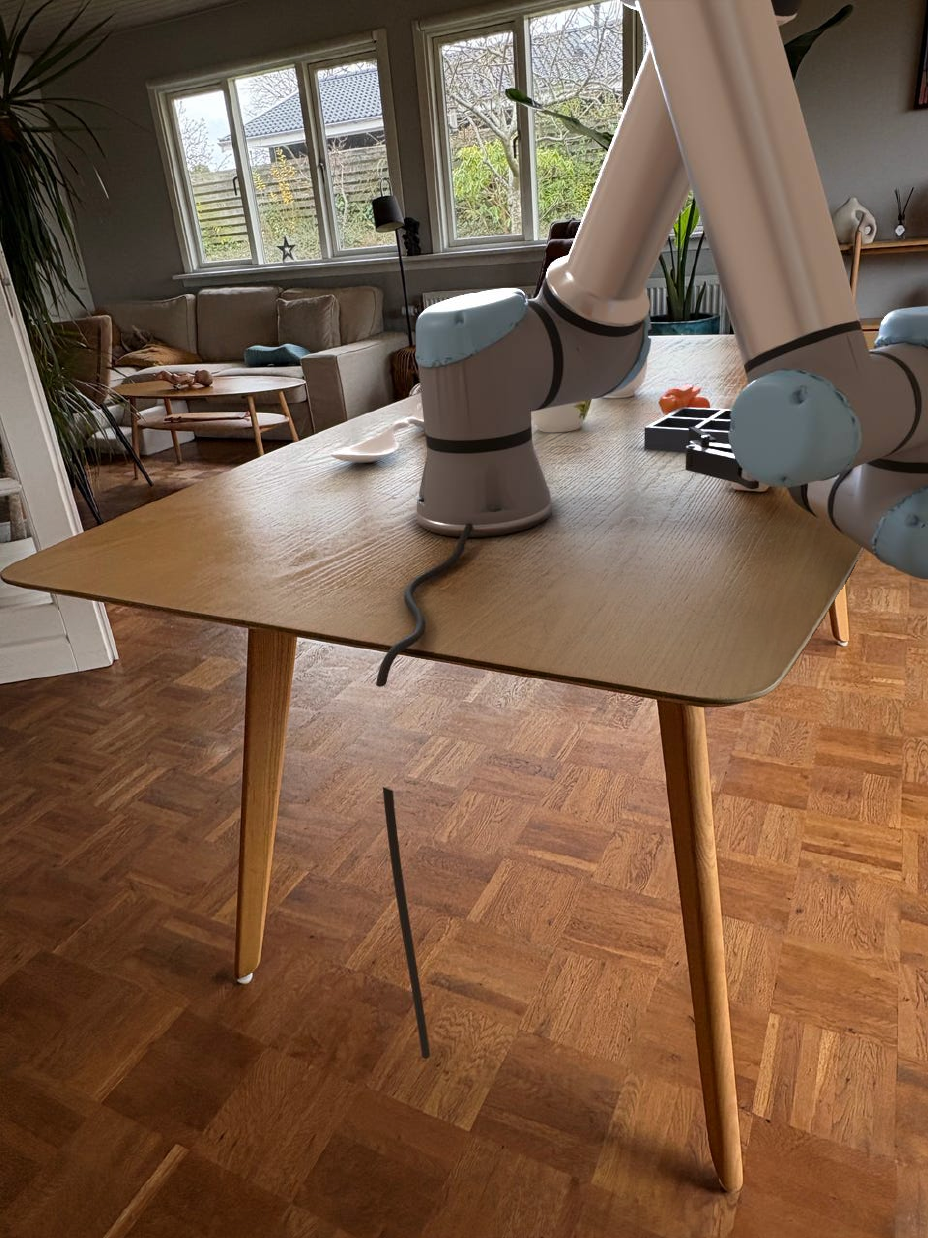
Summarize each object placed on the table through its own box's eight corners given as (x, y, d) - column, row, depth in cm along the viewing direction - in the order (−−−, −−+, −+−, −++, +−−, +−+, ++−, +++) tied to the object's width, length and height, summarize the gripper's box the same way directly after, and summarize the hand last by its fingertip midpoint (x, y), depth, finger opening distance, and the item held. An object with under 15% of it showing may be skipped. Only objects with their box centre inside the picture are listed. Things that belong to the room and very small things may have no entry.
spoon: (467, 421, 138) (465, 400, 137) (375, 473, 112) (371, 448, 111) (420, 420, 142) (418, 400, 140) (320, 471, 116) (316, 447, 115)
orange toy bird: (685, 373, 131) (656, 387, 122) (728, 389, 128) (701, 405, 119) (675, 402, 134) (645, 418, 125) (716, 419, 131) (689, 436, 122)
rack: (740, 456, 105) (742, 433, 104) (643, 449, 112) (644, 427, 111) (770, 433, 115) (772, 411, 113) (680, 427, 122) (680, 406, 121)
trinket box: (578, 394, 152) (577, 342, 148) (629, 387, 154) (630, 335, 150) (604, 403, 142) (603, 348, 138) (658, 395, 145) (659, 340, 141)
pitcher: (614, 415, 133) (614, 327, 127) (570, 441, 120) (567, 344, 114) (554, 412, 139) (551, 328, 133) (504, 437, 125) (499, 345, 119)
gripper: (707, 536, 74) (642, 475, 94) (969, 508, 75) (851, 453, 95) (712, 456, 71) (643, 410, 90) (985, 428, 72) (859, 388, 91)
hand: (749, 432), depth 92 cm, fingers open, 13 cm apart
